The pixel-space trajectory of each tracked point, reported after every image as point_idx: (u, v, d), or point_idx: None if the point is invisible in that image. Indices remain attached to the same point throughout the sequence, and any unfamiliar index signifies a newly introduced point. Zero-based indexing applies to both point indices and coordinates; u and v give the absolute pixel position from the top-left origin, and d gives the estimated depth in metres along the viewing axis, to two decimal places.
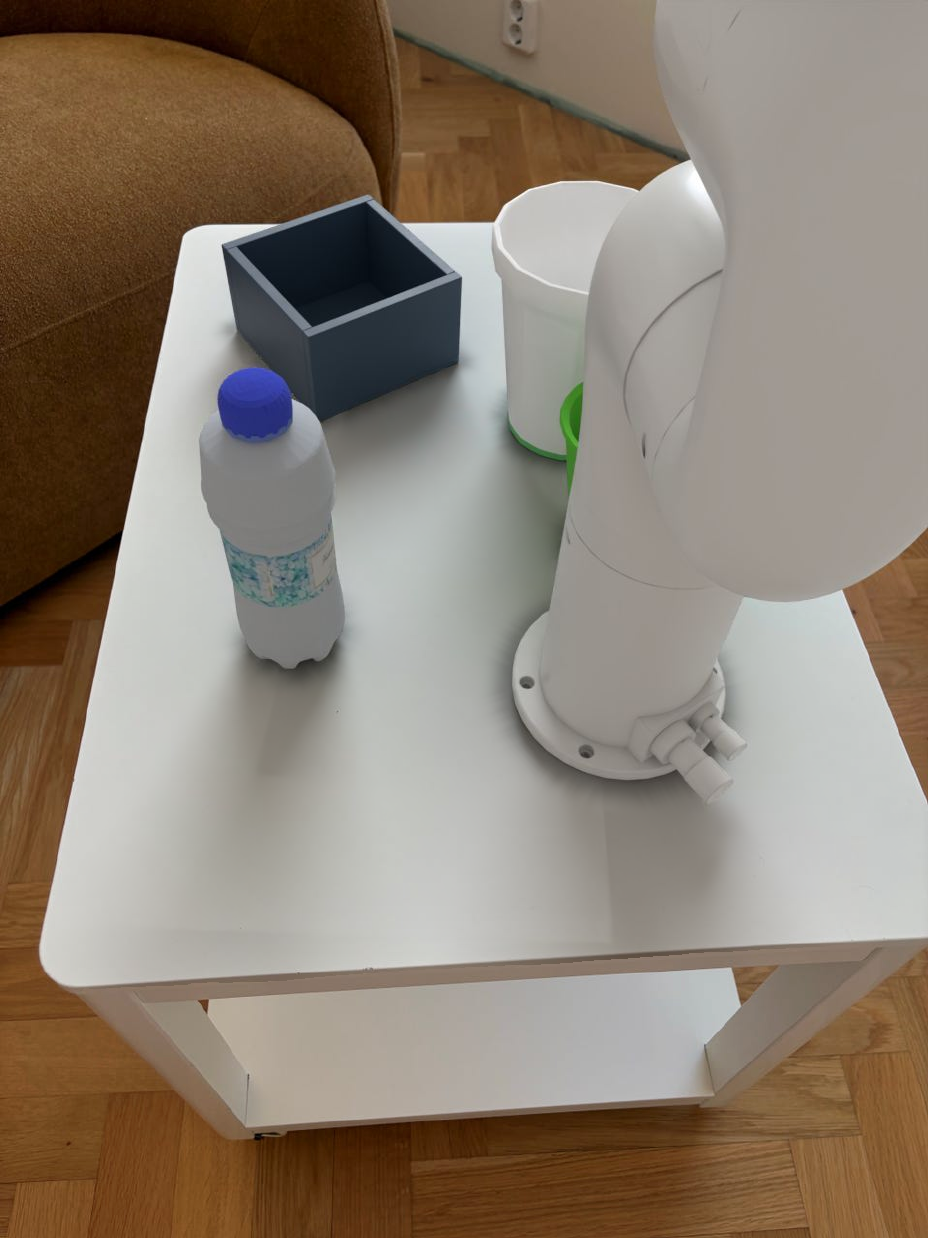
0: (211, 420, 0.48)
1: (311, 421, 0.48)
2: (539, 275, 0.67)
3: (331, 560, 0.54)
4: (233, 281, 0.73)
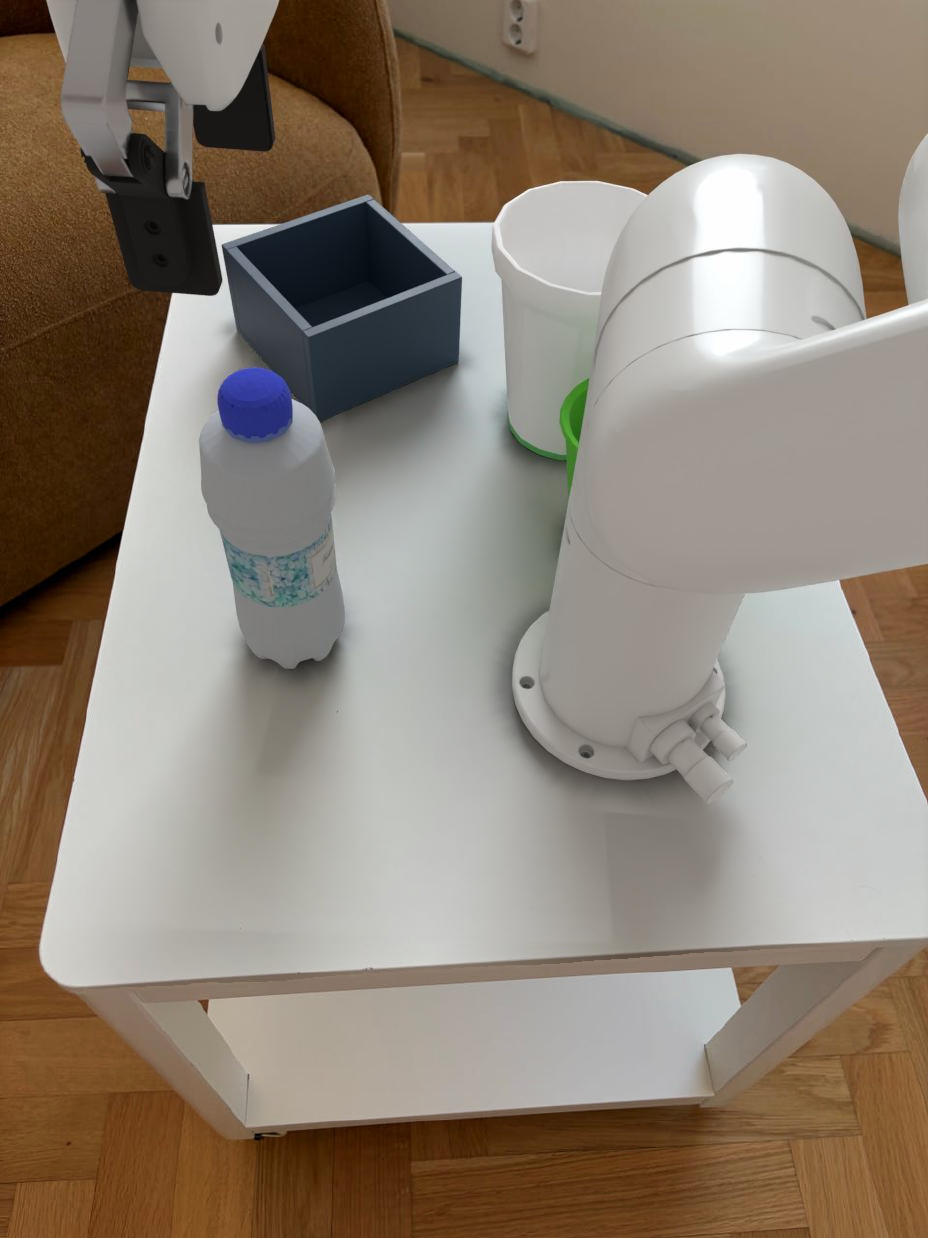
0: (211, 420, 0.48)
1: (311, 421, 0.48)
2: (539, 275, 0.67)
3: (331, 560, 0.54)
4: (233, 281, 0.73)
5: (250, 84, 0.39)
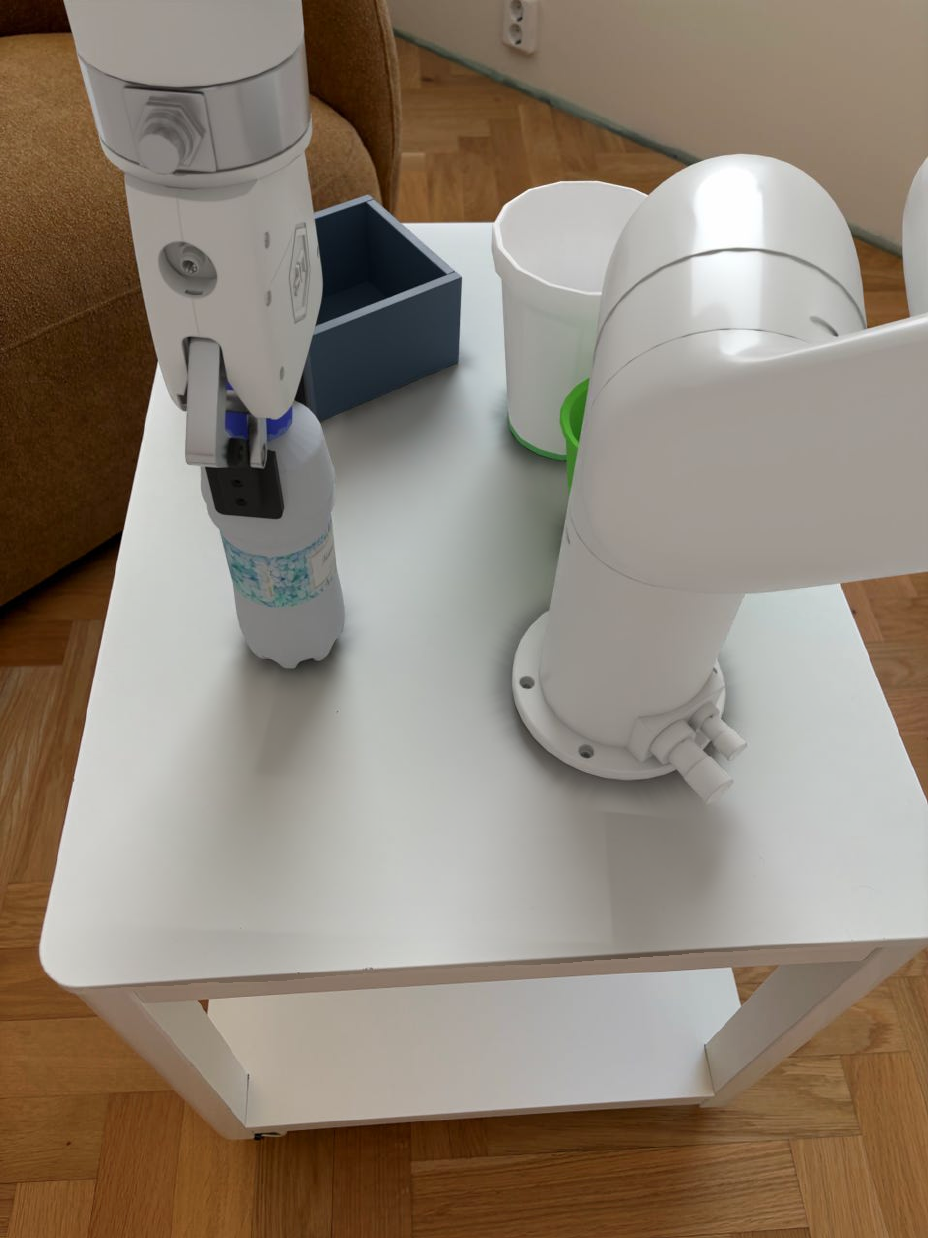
0: None
1: (311, 421, 0.48)
2: (539, 275, 0.67)
3: (331, 560, 0.54)
4: None
5: None
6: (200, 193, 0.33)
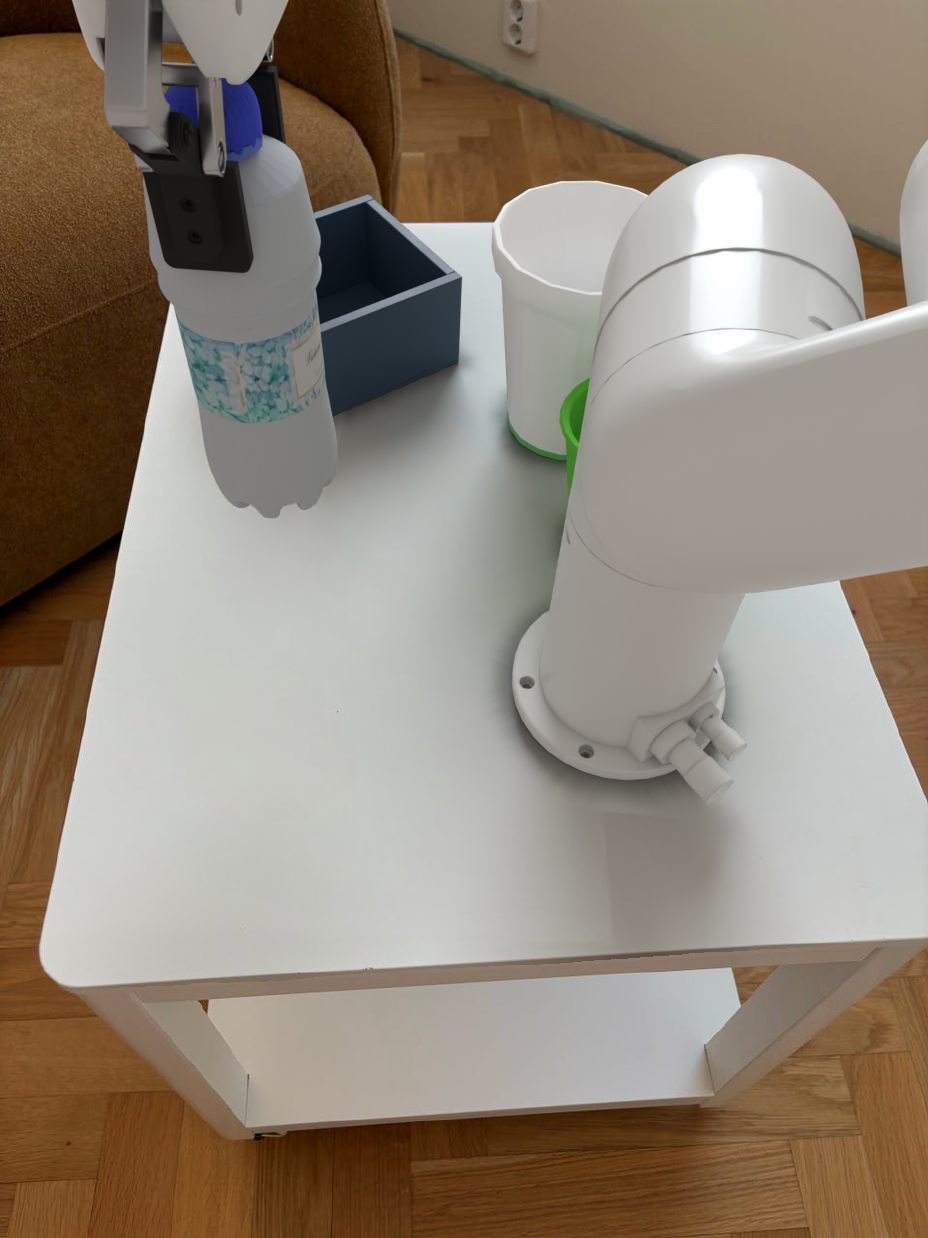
0: None
1: (288, 154, 0.37)
2: (539, 275, 0.67)
3: (318, 365, 0.43)
4: None
5: (262, 107, 0.38)
6: None
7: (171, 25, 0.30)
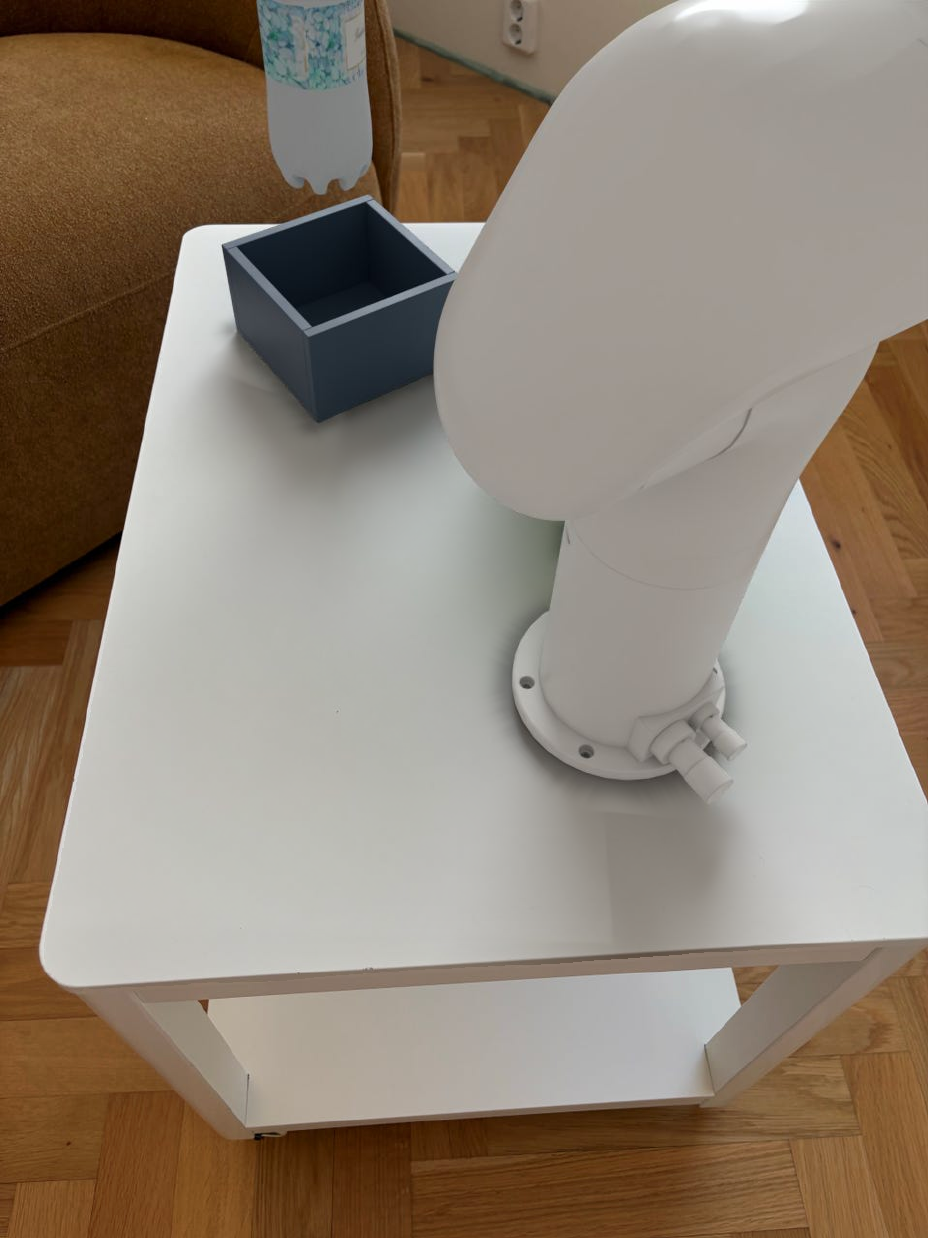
0: None
1: None
2: None
3: (362, 46, 0.56)
4: (233, 281, 0.73)
5: None
6: None
7: None
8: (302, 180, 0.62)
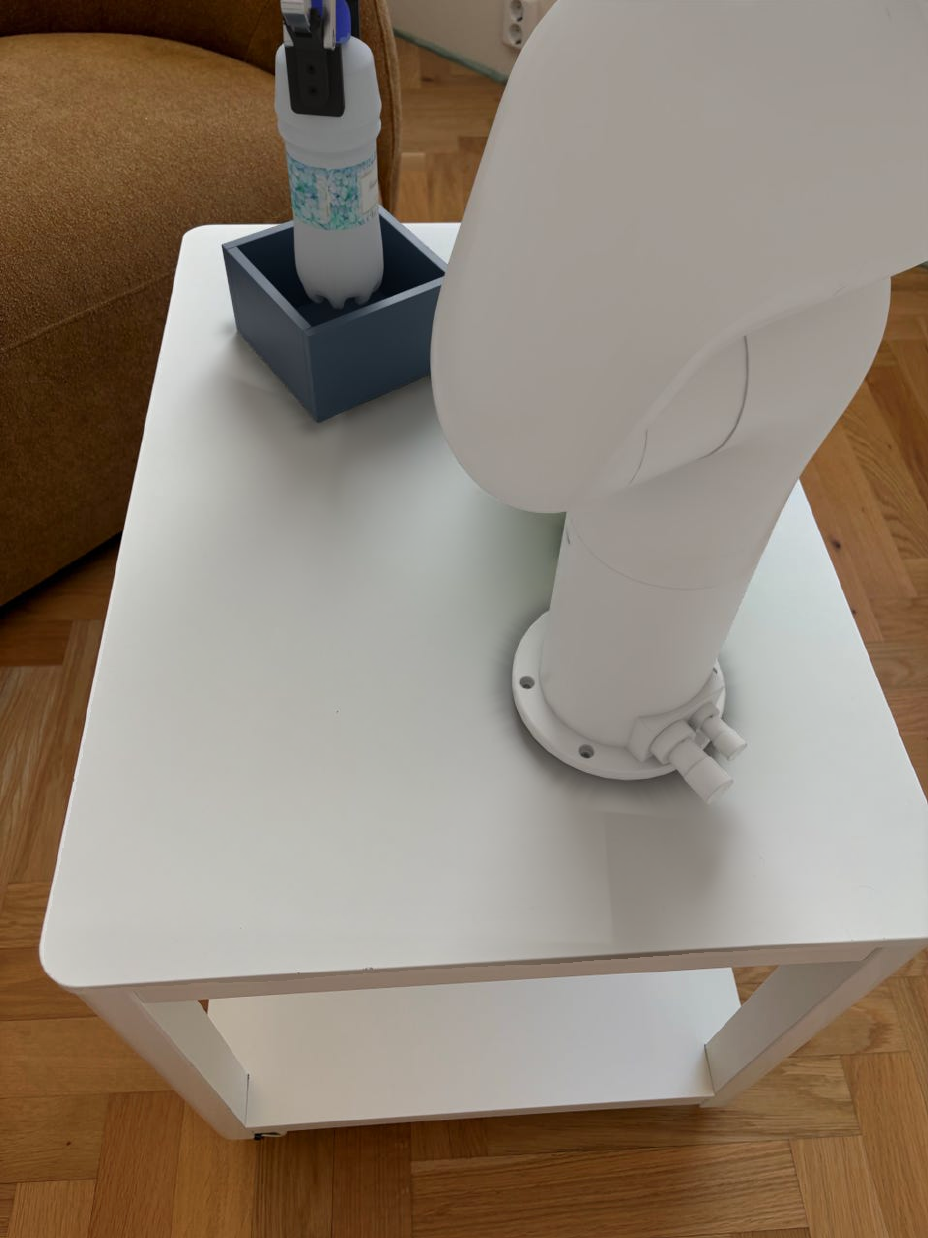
0: None
1: (364, 45, 0.60)
2: None
3: (375, 193, 0.67)
4: (233, 281, 0.73)
5: None
6: None
7: None
8: (323, 297, 0.72)
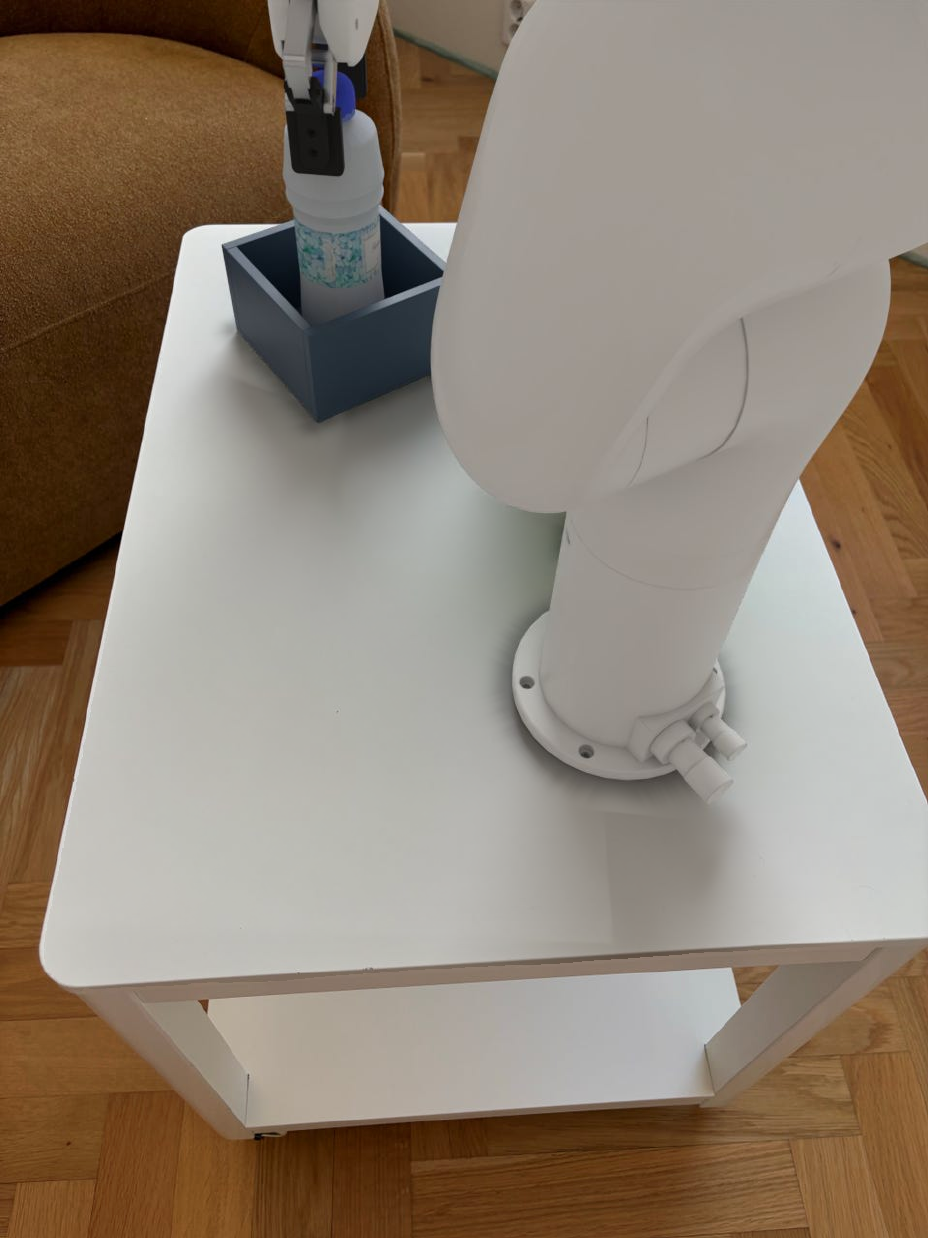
0: None
1: (368, 119, 0.64)
2: None
3: (378, 253, 0.70)
4: (233, 281, 0.73)
5: None
6: None
7: (317, 34, 0.56)
8: None
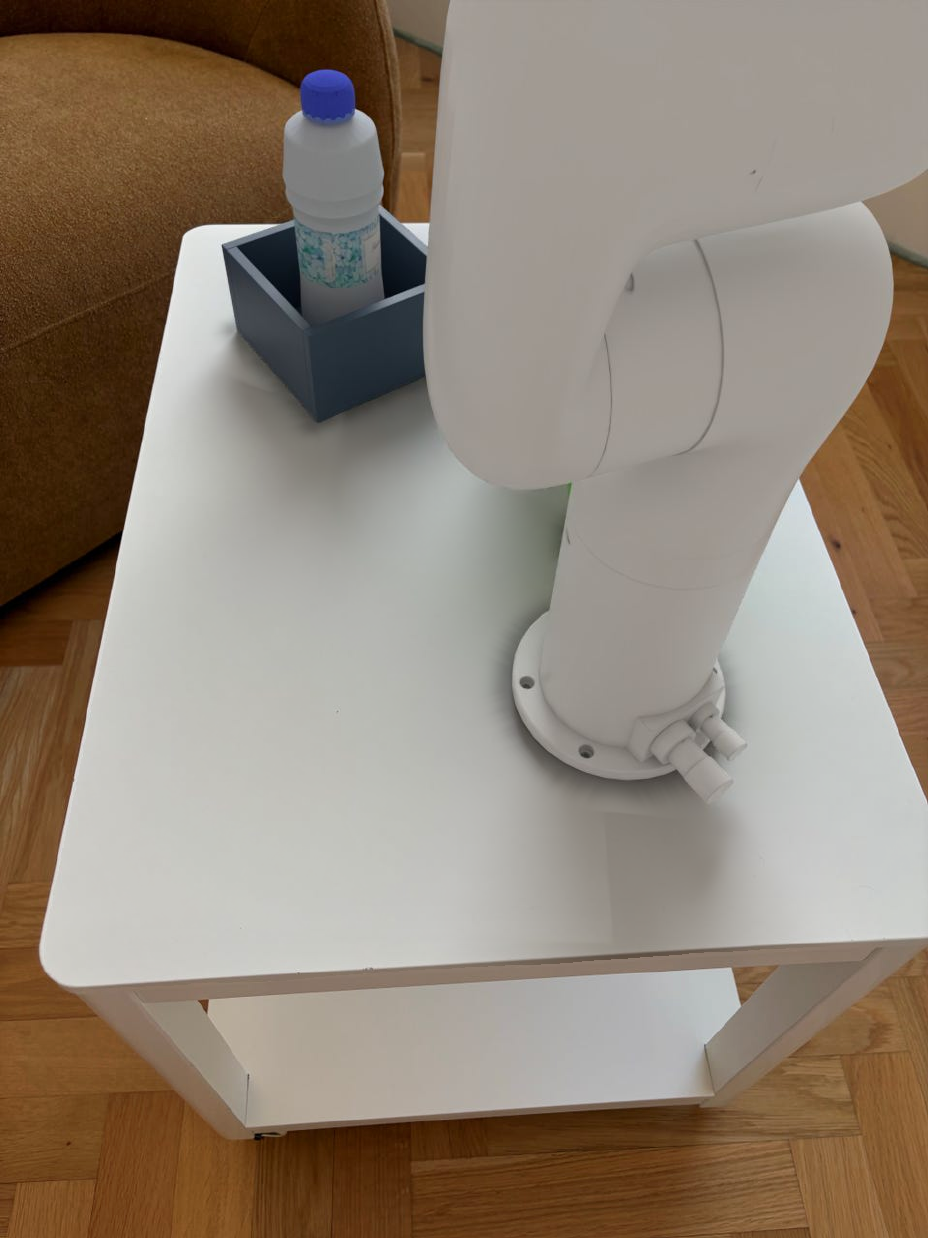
0: (293, 117, 0.64)
1: (367, 119, 0.64)
2: None
3: (378, 253, 0.70)
4: (233, 281, 0.73)
5: None
6: None
7: None
8: None
